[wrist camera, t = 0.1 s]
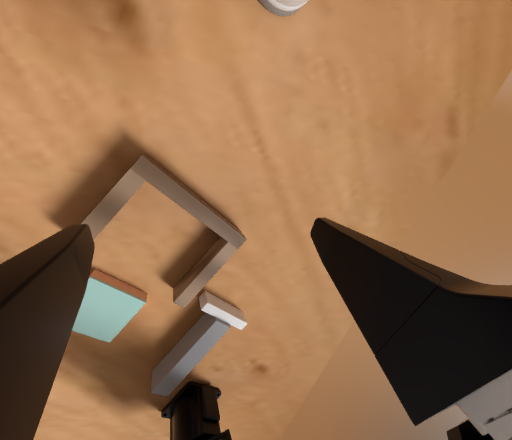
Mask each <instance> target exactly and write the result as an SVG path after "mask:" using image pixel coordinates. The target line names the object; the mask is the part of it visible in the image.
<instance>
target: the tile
mask: <svg viewBox="0 0 512 440" xmlns="http://www.w3.org/2000/svg"><path fill="white" fill-rule="evenodd" d="M146 299H147V293H145V292H143V291H141V290H138V289H136V288H134V287H132V286H130V285H128V284H126V283H124V282H121V281H119V280H117V279H115V278H113V277H111V276H109V275H107V274H105V273H102V272H100V271H98V270H96V269H95V270H94V271H93V272H92V273H91V274H90V275H89V279H88V284H87V288H86V292H85V295H84V298H83V301H82V303H81V306H80V309H79V312H78V315H77V317H76V320H75V323H74V326H73V329H72V331H74V332H78V333H81V334H84V335H87V336H90V337H93V338H96V339H99V340H102V341H105V342H108V343H110V342H111V341H112V340H113V339H114V338H115V336H116V335H117V334H118V333H119V332H120V331H121V330H122V329H123V328H124V326H125V325H126V324H127V323H128V322H129V321H130V320H131V319H132V318H133V316H134V315H135V314H136V313H137V312H138V311H139V310H140V309H141V308H142V307H143V305H144V304H145V303H146Z"/></svg>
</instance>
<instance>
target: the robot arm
mask: <svg viewBox="0 0 512 440" xmlns="http://www.w3.org/2000/svg"><path fill="white" fill-rule="evenodd" d="M311 238H312V240H313V243H314V245H315V247H316V249H317V252H318V254H319V256H320V258H321V261H322V263H323V265H324V266H325V268H326V270H327V272H328V274H329V275H330V277H331V279H332V281H333V282H334V284H335V286H336V288H337V290H338V291H339V293H340V295H341V297H342V298H343V300H344V302H345V304H346V306H347V307H348V309H349V311H350V313H351V314H352V316H353V318H354V320H355V321H356V323H357V325H358V327H359V328H360V330H361V332H362V334H363V336H364V337H365V339H366V341H367V343H368V345H369V346H370V348H371V350H372V351H373V353H374V354H375V357H376V359H377V361H378V363H379V364H380V366H381V368H382V370H383V371H384V373H385V375H386V377H387V378H388V380H389V382H390V384H391V385H392V387H393V389H394V391H395V393H396V395H397V396H398V398H399V400H400V402H401V403H402V405H403V407H404V408H405V411H406V412H407V414H408V416H409V418H410V419H411V421H412V422H413V424H414V425H415V426H417V425H419V424H421V423H423V422H424V421H426V420H428V419H430V418H432V417H434V416H435V415H437V414H439V413H441V412H443V411H445V410H446V409H448V408H450V407H452V406H454V405H456V406H457V407H458V408H459V409H460V410H461V412H462V413H463V414H464V415H465V416H466V417H467V419H466V420H465V421H463V422H461V423H460V424H458V425H456V426H455V427H453V428H452V429H450V430H448V431H447V436H448V440H512V285H510V286H509V285H507V286H506V285H490V284H483V283H480V282H476V281H473V280H470V279H467V278H465V277H462V276H460V275H457V274H455V273H452V272H450V271H447V270H445V269H442V268H440V267H437V266H435V265H432V264H430V263H427V262H425V261H422V260H420V259H418V258H416V257H413V256H411V255H409V254H406V253H404V252H402V251H399V250H397V249H395V248H393V247H390V246H388V245H386V244H384V243H381V242H379V241H377V240H375V239H372V238H370V237H368V236H365V235H363V234H361V233H359V232H356V231H354V230H352V229H350V228H347V227H345V226H343V225H340V224H338V223H336V222H334V221H331V220H329V219H327V218H317V219H316V220H315V222H314V225H313V227H312V230H311ZM94 248H95V246H94V241H93V237H92V233H91V230H90V227H89V225H88V224H72V225H70V226H68V227H66V228H64V229H63V230H61V231H59V232H57V233H55V234H54V235H52V236H50V237H48V238H47V239H45V240H43V241H41V242H39V243H38V244H36V245H34V246H32V247H30V248H29V249H27V250H25V251H23V252H21V253H20V254H18V255H16V256H14V257H12V258H11V259H9V260H7V261H5V262H3V263H2V264H0V440H33V439H34V436H35V433H36V430H37V427H38V424H39V422H40V419H41V416H42V413H43V410H44V408H45V405H46V402H47V399H48V396H49V394H50V391H51V388H52V385H53V382H54V379H55V377H56V374H57V371H58V368H59V365H60V363H61V360H62V357H63V354H64V351H65V348H66V346H67V343H68V340H69V337H70V334H71V332H72V329H73V326H74V323H75V320H76V317H77V315H78V312H79V309H80V306H81V303H82V301H83V298H84V295H85V292H86V288H87V284H88V279H89V274H90V269H91V264H92V259H93V254H94ZM220 395H221V391H220V390H218V389H215V388H211V387H208V386H204V385H201V384H197V383H194V382H189V383H188V384H187V385H186V386H185V387H184V388H183V389H182V390H181V391H180V392H179V393H178V394H177V395H176V397H175V398H174V399H173V400H172V401H171V402H170V403H169V404H168V405H167V406H166V408H165V409H164V410H163V411H162V412H161V417H164V418H169V419H170V440H232V439H231V435H230V432H229V429H227V430H225V432H222V433H221V431H220V426H219V420H220V415H219V409H218V403H217V399H218V398H219V397H220Z"/></svg>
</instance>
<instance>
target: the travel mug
mask: <svg viewBox="0 0 512 440" xmlns="http://www.w3.org/2000/svg"><path fill="white" fill-rule="evenodd" d="M259 1H260V3H261V4H262V5H263V6H264V7H265V8H266V9H267V10H269V11H270V12H271V13H273V14H276V15H279V16H289V15H291V14H294V13H295V12H297V11H298V10H299V9H300V8H301V7H302V6H303V5H304V4H305V3H306V2H307V1H308V0H259Z"/></svg>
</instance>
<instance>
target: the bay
mask: <svg viewBox="0 0 512 440" xmlns="http://www.w3.org/2000/svg"><path fill="white" fill-rule="evenodd" d="M145 181H147V182H149V183H150V184H151V185H153V186H154V187H155V188H157V189H158V190H159V191H161V192H162V193H163V194H165V195H166V196H167V197H169V198H170V199H171V200H173V201H174V202H175V203H177V204H178V205H179V206H181V207H182V208H183V209H185V210H186V211H187V212H189V213H190V214H191V215H193V216H194V217H195V218H197V219H198V220H199V221H201V222H202V223H203V224H205V225H206V226H207V227H209V228H210V229H211V230H213V231H214V232H215V233H217V234H218V235H219V236H220V238H219V239H218V240H217V241H216V242H215V243H214V244H213V245H212V246H211V248H210V249H209V250H208V251H207V252H206V253H205V254H204V255H203V256H202V257H201V259H200V260H199V261H198V262H197V263H196V264H195V265H194V266H193V267H192V269H191V270H190V271H189V272H188V273H187V274H186V275H185V276H184V277H183V279H182V280H181V281H180V282H179V283H178V284H177V285H176V286H175V287H174V288H173V303H175V304H177V305H179V306H182V307H184V308H185V307H186V306H187V305H188V304H189V302H190V301H191V300H192V299H193V298H194V297H195V296H196V295H197V294H198V293H199V291H200V290H201V289H202V288H203V287H204V286H205V285H206V284H207V283H208V282H209V280H210V279H211V278H212V277H213V276H214V275H215V274H216V273H217V272H218V270H219V269H220V268H221V267H222V266H223V265H224V264H225V263H226V262H227V261H228V259H229V258H230V257H231V256H232V255H233V254H234V253H235V252H236V251H237V250H238V248H239V247H240V246H241V245H242V244H243V243H244V242H245V241H246V240H247V239H246V238H245V236H244V235H243V234H242V232H241V231H240V230H239V229H237V228H236V227H235V226H234V225H232V224H231V223H230V222H229V221H228V220H226V219H225V218H224V217H223V216H221V215H220V214H219V213H218V212H216V211H215V210H214V209H213V208H212V207H210V206H209V205H208V204H207V203H205V202H204V201H203V200H202V199H200V198H199V197H198V196H197V195H196V194H194V193H193V192H192V191H191V190H189V189H188V188H187V187H186V186H184V185H183V184H182V183H181V182H180V181H178V180H177V179H176V178H175V177H173V176H172V175H171V174H170V173H168V172H167V171H166V170H165V169H163V168H162V167H161V166H160V165H159V164H157V163H156V162H155V161H154V160H152V159H151V158H150V157H149V156H147V155H146V154H143V155H142V156H141V157H140V158H139V159H138V160H137V161H136V163H135V164H134V165H133V166H132V167H131V168H130V169H129V170H128V171H127V173H126V174H125V175H124V176H123V177H122V178H121V179H120V180H119V182H118V183H117V184H116V185H115V186H114V187H113V188H112V189H111V191H110V192H109V193H108V194H107V195H106V196H105V197H104V198H103V200H102V201H101V202H100V203H99V204H98V205H97V206H96V207H95V209H94V210H93V211H92V212H91V213H90V214H89V215H88V216H87V218H86V219H85V220H84V221H83V222H82V223H81V224H88V225H89V227H90V230H91V233H92V237H93V240H94V238H95V237H96V236H97V235H98V234H99V233H100V232H101V231H102V229H103V228H104V227H105V226H106V225H107V224H108V223H109V222H110V220H111V219H112V218H113V217H114V216H115V215H116V214H117V213H118V212H119V210H120V209H121V208H122V207H123V206H124V205H125V204H126V203H127V201H128V200H129V199H130V198H131V197H132V196H133V195H134V194H135V192H136V191H137V190H138V189H139V188H140V187H141V186H142V185H143V184H144V182H145Z"/></svg>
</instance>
